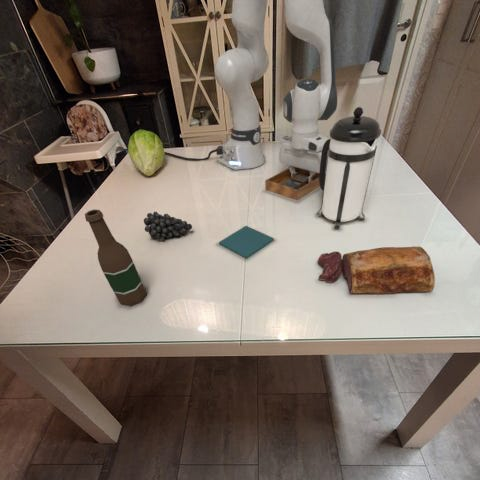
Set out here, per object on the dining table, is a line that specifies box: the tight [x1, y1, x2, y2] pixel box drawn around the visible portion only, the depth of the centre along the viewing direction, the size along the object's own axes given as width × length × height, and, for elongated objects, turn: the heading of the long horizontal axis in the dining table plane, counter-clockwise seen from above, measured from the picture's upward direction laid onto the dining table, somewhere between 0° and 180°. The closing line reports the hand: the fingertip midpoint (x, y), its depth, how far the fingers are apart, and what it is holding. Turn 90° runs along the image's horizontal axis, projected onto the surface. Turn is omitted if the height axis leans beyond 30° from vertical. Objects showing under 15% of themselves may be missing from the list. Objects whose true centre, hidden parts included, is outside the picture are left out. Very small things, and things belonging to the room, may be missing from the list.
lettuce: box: [127, 128, 166, 177], centre depth 136 cm, size 15×24×16 cm
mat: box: [218, 225, 275, 259], centre depth 91 cm, size 12×12×1 cm
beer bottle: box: [84, 208, 148, 307], centre depth 70 cm, size 8×8×24 cm
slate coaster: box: [281, 180, 301, 190], centre depth 111 cm, size 6×6×2 cm
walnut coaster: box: [290, 173, 309, 187], centre depth 114 cm, size 6×6×2 cm
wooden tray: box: [264, 167, 321, 201], centre depth 112 cm, size 15×17×4 cm
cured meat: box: [317, 246, 436, 295], centre depth 75 cm, size 18×25×7 cm
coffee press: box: [316, 106, 382, 230], centre depth 86 cm, size 17×16×30 cm
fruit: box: [143, 211, 193, 242], centre depth 95 cm, size 9×8×15 cm
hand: (301, 179), depth 114 cm, fingers closed on walnut coaster, 6 cm apart
